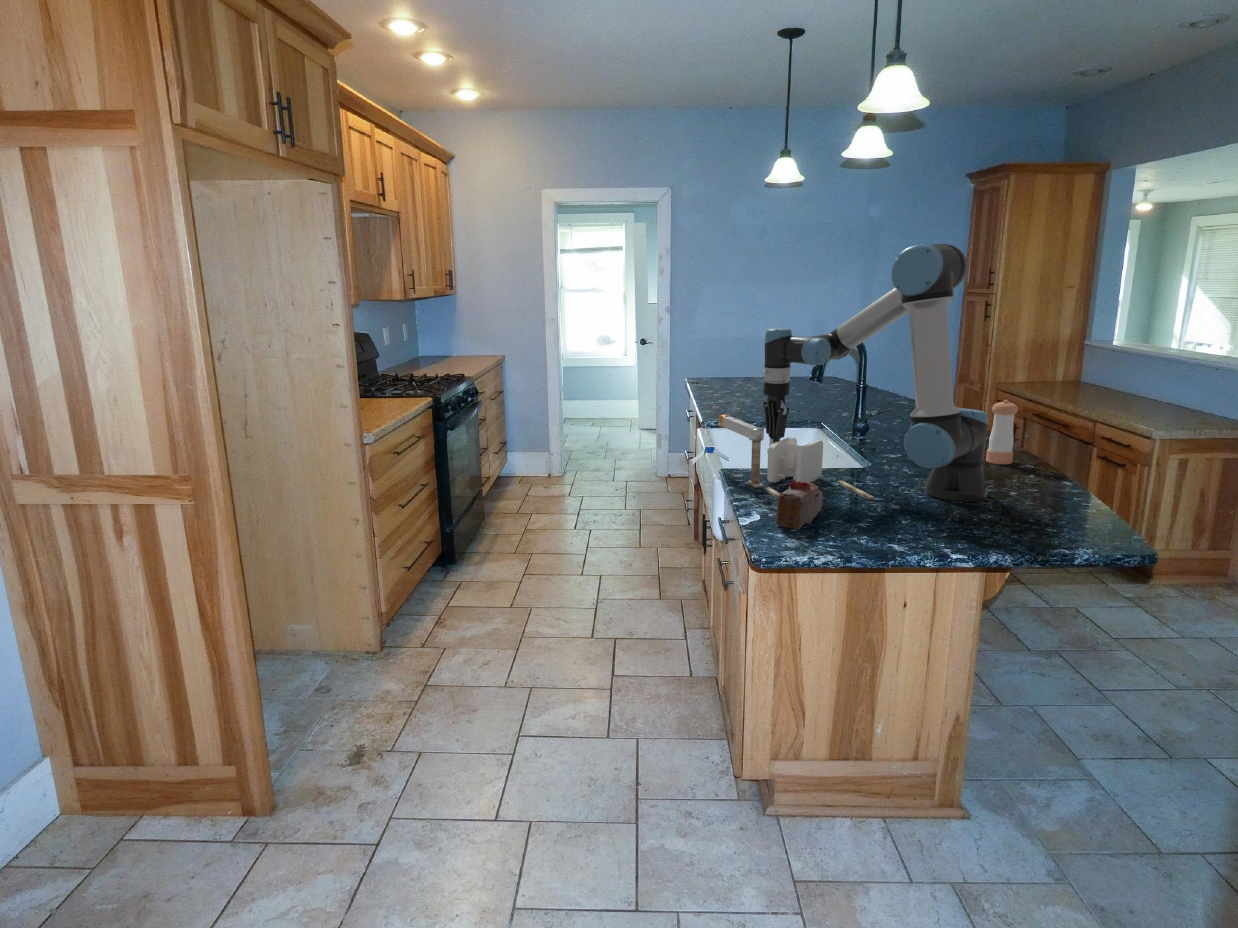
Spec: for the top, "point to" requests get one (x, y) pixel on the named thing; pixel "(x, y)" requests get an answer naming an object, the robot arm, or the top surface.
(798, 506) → the food item
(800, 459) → the cable organizer
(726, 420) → the gold knob lever
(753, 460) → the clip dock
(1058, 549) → the top surface
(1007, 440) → the pepper shaker
